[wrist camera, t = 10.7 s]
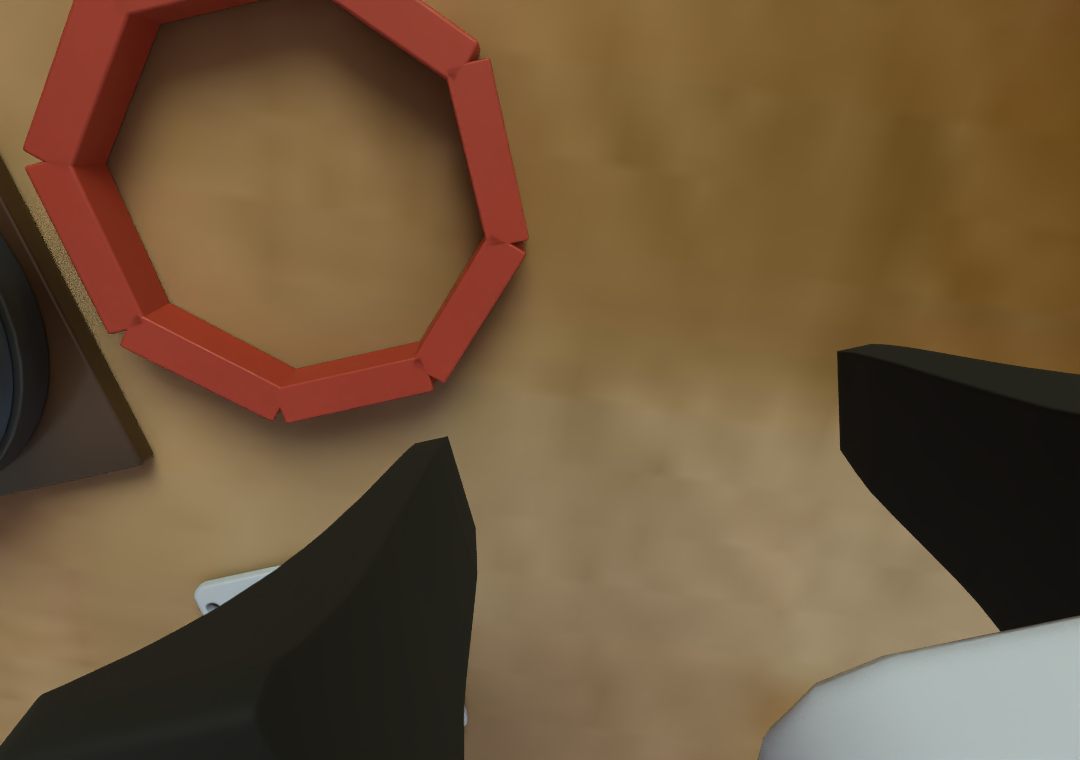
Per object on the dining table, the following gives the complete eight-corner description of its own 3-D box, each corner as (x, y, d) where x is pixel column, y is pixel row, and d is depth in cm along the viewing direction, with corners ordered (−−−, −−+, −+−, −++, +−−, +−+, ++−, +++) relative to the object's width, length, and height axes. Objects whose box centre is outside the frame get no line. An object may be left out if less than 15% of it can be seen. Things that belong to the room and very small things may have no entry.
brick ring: (552, 347, 21) (556, 364, 19) (189, 427, 21) (165, 450, 19) (454, -104, 16) (449, -127, 14) (-12, 9, 16) (-64, -3, 15)
